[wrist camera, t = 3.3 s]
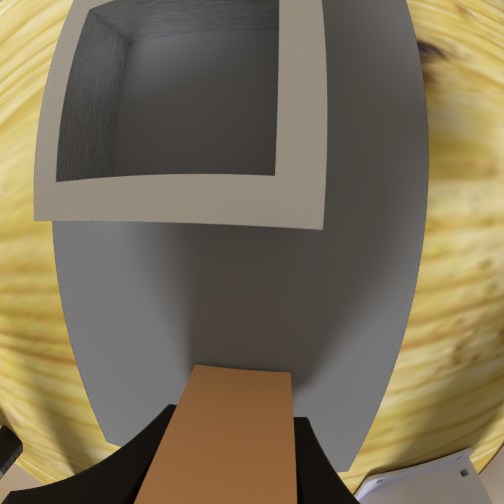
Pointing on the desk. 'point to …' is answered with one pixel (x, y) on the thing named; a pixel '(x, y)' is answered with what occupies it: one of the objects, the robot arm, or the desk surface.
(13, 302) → the desk surface
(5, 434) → the walkie-talkie
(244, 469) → the connector plug
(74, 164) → the end holder
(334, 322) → the mat
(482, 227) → the desk surface
